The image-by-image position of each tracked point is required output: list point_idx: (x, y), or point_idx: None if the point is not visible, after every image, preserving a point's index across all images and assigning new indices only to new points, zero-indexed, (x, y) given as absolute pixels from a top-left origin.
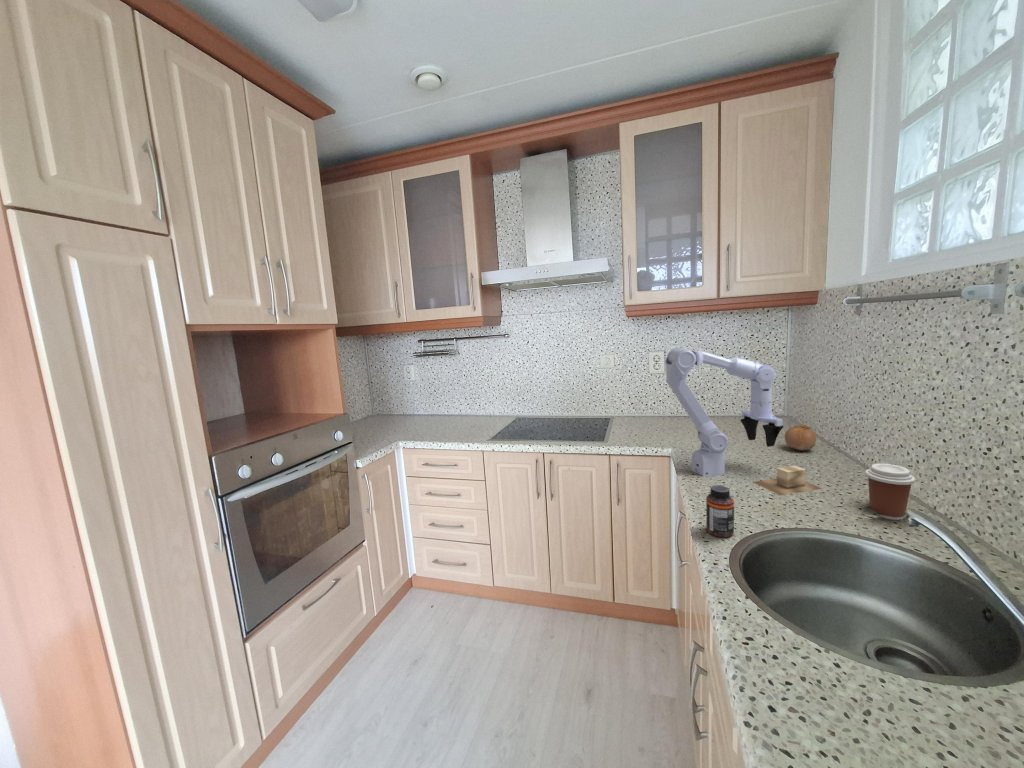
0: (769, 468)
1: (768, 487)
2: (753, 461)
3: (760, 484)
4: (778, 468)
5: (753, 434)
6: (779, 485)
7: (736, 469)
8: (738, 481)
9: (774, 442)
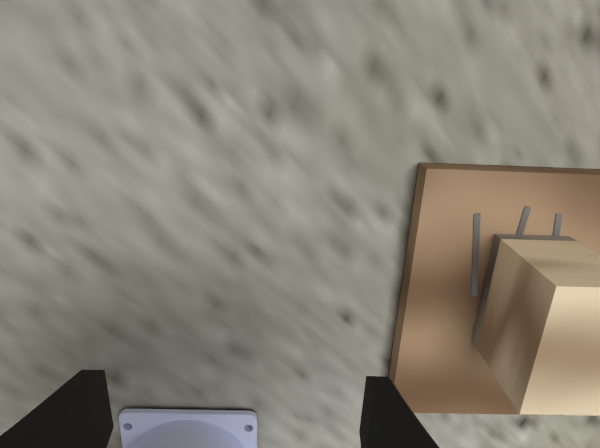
0: (201, 123)
1: (478, 398)
2: (36, 109)
3: (432, 403)
4: (528, 413)
5: (72, 444)
6: None
7: (157, 315)
8: (314, 413)
9: (405, 410)
